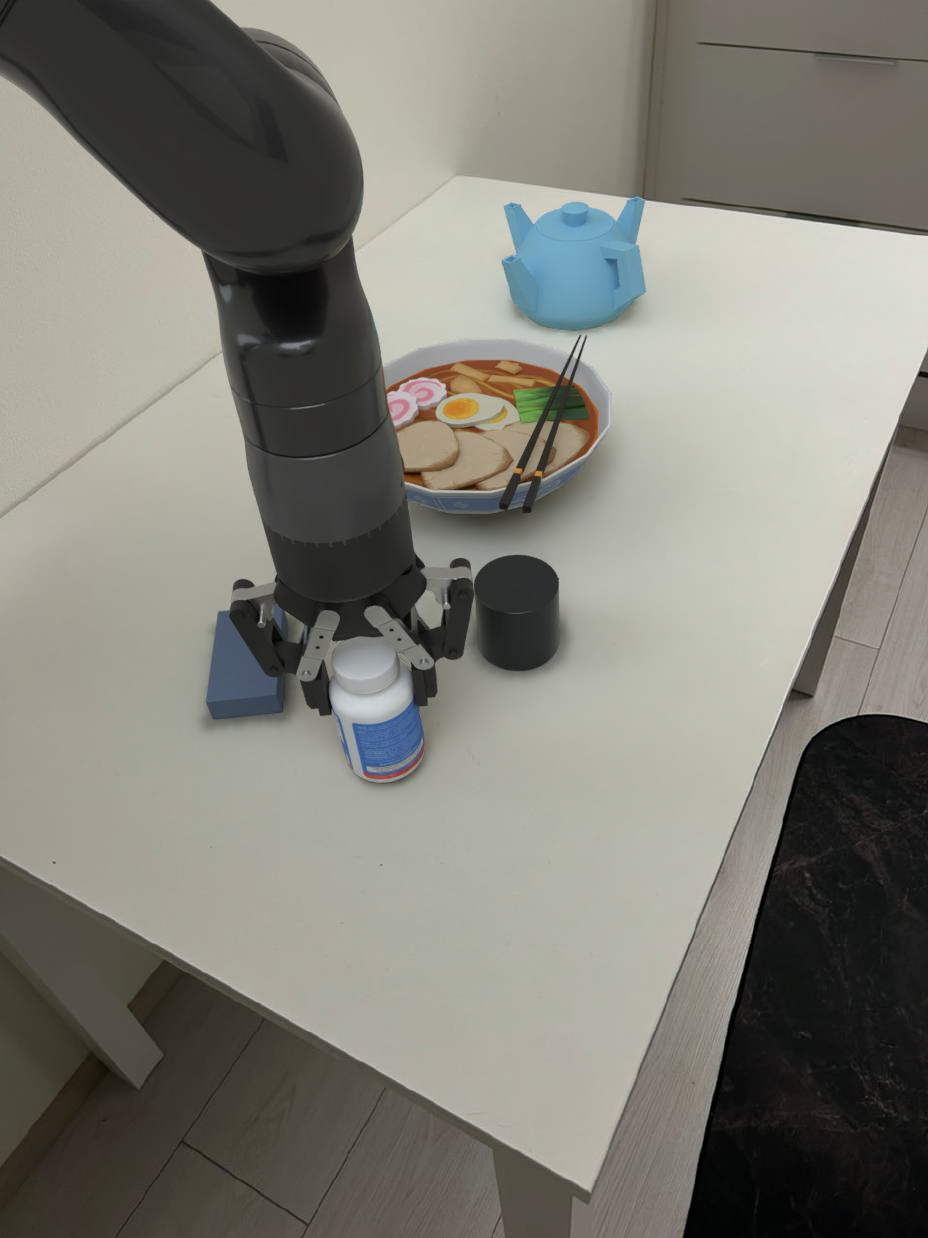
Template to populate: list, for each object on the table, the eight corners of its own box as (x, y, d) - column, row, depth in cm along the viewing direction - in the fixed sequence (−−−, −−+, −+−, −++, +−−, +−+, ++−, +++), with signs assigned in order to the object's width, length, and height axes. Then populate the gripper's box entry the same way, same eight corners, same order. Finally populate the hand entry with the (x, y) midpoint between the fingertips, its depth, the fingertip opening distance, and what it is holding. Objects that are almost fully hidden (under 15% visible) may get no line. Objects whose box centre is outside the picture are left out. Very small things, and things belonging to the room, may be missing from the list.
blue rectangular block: (282, 712, 69) (276, 694, 68) (212, 719, 69) (205, 702, 68) (288, 622, 76) (282, 604, 74) (224, 628, 76) (217, 611, 74)
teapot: (497, 340, 103) (492, 241, 95) (506, 272, 113) (503, 178, 105) (644, 338, 101) (651, 237, 93) (640, 270, 111) (646, 173, 103)
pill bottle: (441, 740, 66) (428, 643, 58) (394, 798, 63) (374, 703, 56) (377, 708, 68) (357, 610, 61) (328, 762, 65) (301, 666, 58)
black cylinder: (468, 662, 71) (462, 605, 67) (491, 606, 75) (487, 548, 71) (548, 677, 70) (547, 620, 66) (567, 619, 74) (567, 561, 69)
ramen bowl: (409, 386, 98) (399, 311, 92) (635, 413, 92) (641, 335, 86) (307, 549, 81) (288, 471, 76) (574, 595, 75) (576, 514, 70)
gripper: (180, 552, 47) (257, 760, 59) (478, 523, 47) (493, 736, 59) (198, 458, 52) (265, 667, 64) (466, 432, 52) (482, 646, 64)
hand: (374, 699), depth 61 cm, fingers closed on pill bottle, 5 cm apart
